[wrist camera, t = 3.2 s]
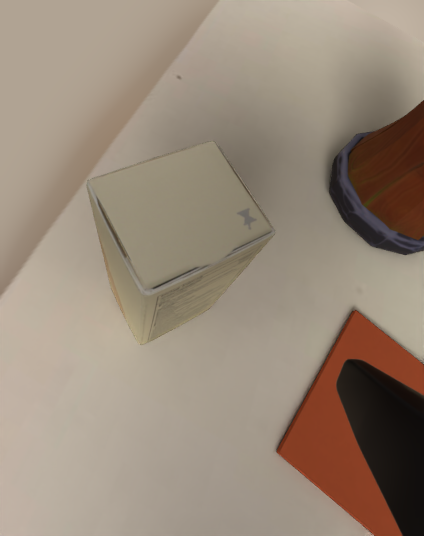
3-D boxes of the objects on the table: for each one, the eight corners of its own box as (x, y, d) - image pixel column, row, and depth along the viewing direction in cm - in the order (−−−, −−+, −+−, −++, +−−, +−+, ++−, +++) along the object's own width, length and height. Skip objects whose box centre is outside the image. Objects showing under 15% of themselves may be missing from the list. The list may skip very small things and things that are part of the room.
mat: (414, 569, 18) (420, 573, 18) (275, 451, 19) (278, 452, 18) (464, 401, 23) (469, 401, 22) (352, 311, 23) (355, 309, 23)
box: (179, 254, 22) (223, 134, 12) (211, 310, 21) (287, 230, 11) (104, 287, 20) (80, 175, 10) (135, 350, 19) (143, 297, 9)
